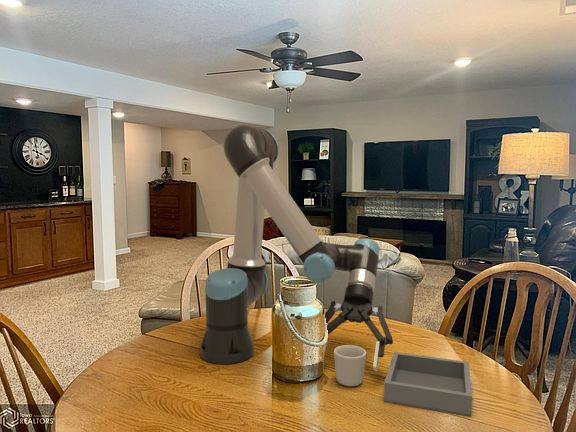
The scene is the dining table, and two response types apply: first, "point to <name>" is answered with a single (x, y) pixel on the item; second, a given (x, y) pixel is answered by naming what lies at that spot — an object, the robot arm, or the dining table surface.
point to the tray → (429, 383)
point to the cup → (349, 364)
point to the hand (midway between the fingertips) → (347, 365)
